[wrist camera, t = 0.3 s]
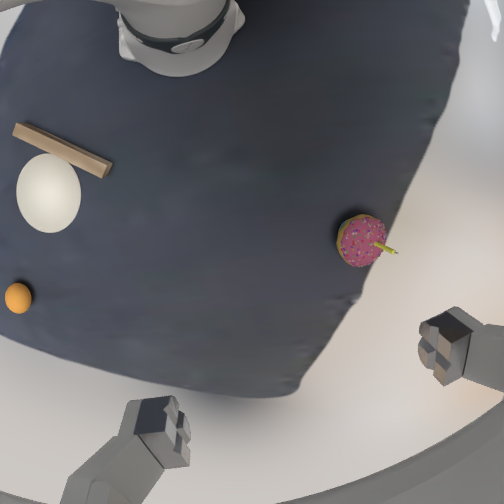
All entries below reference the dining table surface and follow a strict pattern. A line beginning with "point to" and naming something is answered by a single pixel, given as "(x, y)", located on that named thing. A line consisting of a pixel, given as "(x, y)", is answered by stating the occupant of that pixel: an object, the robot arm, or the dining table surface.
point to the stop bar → (63, 149)
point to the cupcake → (362, 240)
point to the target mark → (48, 193)
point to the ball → (18, 298)
